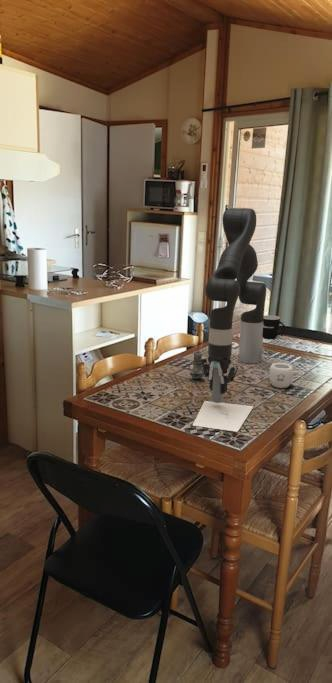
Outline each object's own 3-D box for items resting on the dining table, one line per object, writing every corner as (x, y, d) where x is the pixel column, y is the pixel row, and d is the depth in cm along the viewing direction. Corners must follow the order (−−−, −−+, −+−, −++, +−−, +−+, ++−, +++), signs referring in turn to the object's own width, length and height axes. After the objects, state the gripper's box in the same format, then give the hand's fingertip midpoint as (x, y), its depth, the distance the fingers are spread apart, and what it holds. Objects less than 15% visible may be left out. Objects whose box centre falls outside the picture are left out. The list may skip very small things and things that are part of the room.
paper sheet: (234, 437, 156) (234, 434, 156) (146, 420, 169) (146, 417, 169) (258, 409, 176) (258, 406, 176) (178, 396, 189) (178, 393, 189)
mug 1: (257, 338, 262) (258, 317, 259) (263, 334, 270) (264, 314, 267) (281, 341, 257) (282, 321, 254) (286, 337, 264) (288, 317, 262)
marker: (216, 397, 179) (218, 358, 176) (225, 400, 177) (227, 360, 173) (209, 400, 177) (210, 360, 173) (218, 403, 174) (220, 363, 171)
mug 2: (266, 388, 195) (268, 367, 193) (270, 380, 203) (272, 360, 201) (300, 392, 192) (302, 371, 189) (303, 385, 199) (304, 364, 197)
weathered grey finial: (203, 383, 199) (204, 352, 195) (187, 382, 200) (188, 351, 196) (205, 378, 204) (206, 348, 201) (190, 377, 205) (191, 346, 202)
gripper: (245, 343, 170) (242, 394, 174) (210, 335, 179) (208, 383, 183) (231, 348, 164) (228, 400, 169) (195, 339, 173) (193, 389, 178)
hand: (217, 391), depth 176 cm, fingers closed on marker, 3 cm apart
